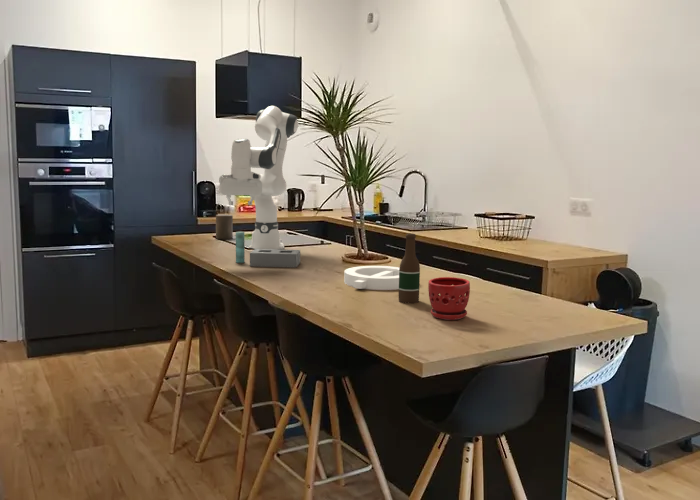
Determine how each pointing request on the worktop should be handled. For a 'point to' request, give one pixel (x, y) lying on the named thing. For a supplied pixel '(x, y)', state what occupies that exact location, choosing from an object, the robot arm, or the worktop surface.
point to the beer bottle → (409, 273)
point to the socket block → (274, 258)
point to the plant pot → (449, 297)
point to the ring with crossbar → (372, 277)
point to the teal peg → (240, 247)
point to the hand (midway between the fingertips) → (240, 205)
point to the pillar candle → (224, 226)
